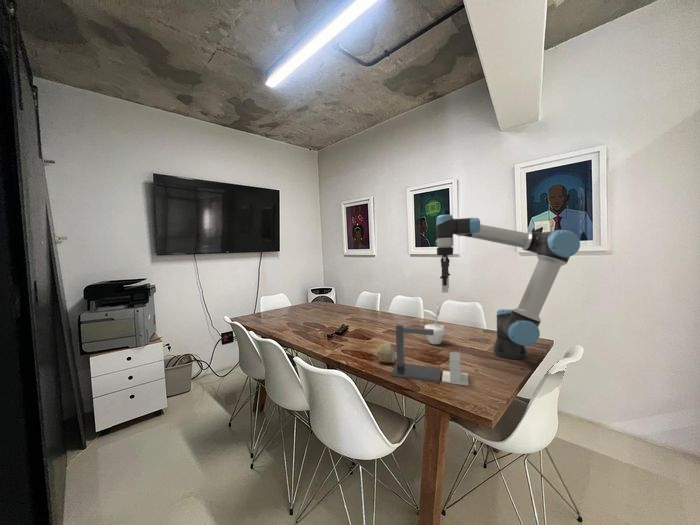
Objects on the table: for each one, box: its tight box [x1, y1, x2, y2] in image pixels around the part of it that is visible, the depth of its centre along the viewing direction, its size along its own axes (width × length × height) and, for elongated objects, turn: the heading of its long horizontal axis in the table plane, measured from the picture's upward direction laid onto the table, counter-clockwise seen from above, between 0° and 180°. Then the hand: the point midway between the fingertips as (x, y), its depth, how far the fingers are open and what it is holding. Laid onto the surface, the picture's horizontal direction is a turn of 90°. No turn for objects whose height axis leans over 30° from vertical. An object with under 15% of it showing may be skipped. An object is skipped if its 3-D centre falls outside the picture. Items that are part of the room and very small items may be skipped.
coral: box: [376, 342, 396, 364], centre depth 135 cm, size 10×10×10 cm
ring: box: [449, 351, 461, 382], centre depth 115 cm, size 4×9×9 cm, turn 158°
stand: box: [391, 323, 442, 383], centre depth 120 cm, size 20×12×21 cm, turn 68°
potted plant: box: [421, 301, 446, 345], centre depth 160 cm, size 13×12×25 cm
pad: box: [441, 370, 469, 386], centre depth 115 cm, size 10×10×1 cm
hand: (445, 290), depth 133 cm, fingers open, 13 cm apart
